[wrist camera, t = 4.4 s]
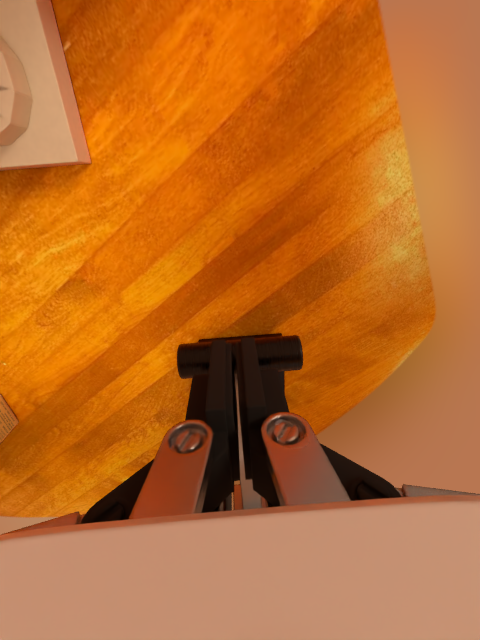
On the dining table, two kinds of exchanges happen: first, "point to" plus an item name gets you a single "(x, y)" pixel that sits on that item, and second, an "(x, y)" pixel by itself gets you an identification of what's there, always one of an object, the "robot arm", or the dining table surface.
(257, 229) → the dining table surface
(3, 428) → the candy box
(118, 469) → the dining table surface
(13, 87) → the control block
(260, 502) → the metal lever
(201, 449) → the robot arm
